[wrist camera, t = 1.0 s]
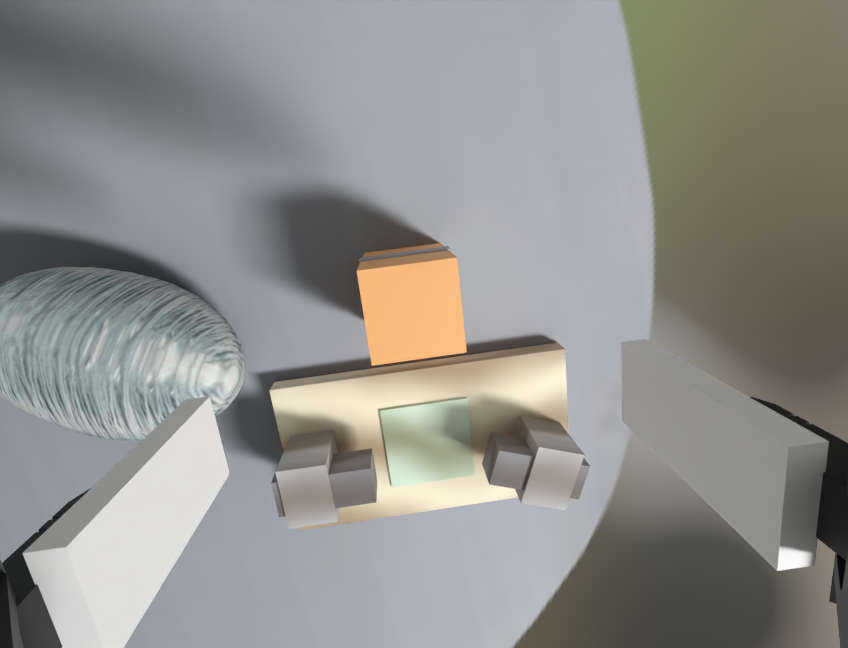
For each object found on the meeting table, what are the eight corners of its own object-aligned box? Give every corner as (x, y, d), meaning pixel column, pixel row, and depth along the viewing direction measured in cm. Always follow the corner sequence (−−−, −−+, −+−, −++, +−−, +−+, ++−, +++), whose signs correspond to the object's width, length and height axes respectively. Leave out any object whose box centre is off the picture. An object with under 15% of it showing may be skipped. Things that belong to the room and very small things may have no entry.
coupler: (362, 251, 31) (354, 269, 23) (441, 241, 31) (458, 255, 23) (374, 327, 32) (370, 367, 24) (449, 317, 32) (468, 354, 25)
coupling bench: (274, 381, 33) (250, 420, 27) (557, 342, 33) (591, 372, 28) (304, 516, 36) (288, 577, 30) (563, 477, 36) (596, 529, 31)
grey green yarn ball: (-25, 402, 28) (-121, 410, 19) (42, 256, 30) (-17, 205, 22) (213, 448, 34) (223, 472, 25) (255, 322, 36) (278, 303, 27)
